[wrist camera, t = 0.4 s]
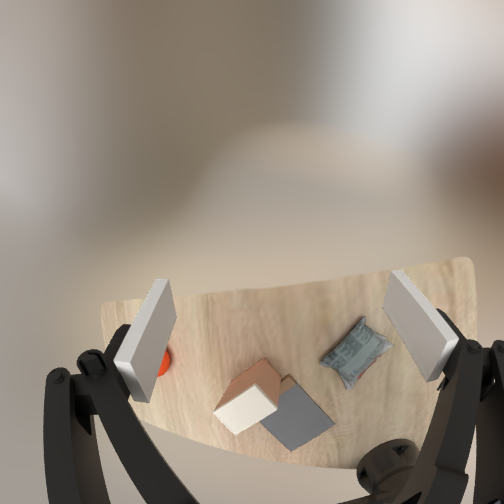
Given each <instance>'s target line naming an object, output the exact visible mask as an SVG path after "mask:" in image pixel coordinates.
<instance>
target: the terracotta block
mask: <svg viewBox="0 0 504 504" xmlns="http://www.w3.org/2000/svg"><path fill="white" fill-rule="evenodd" d="M280 382H281V376H280V375H279V374H278V373H277V372H276V371H275V369H274V368H273V367H272V366H271V365H270V364H269V363H268V362H267V360H266V359H265V358H263V359H262V360H260V361H259V362H258V363H256V364H255V365H253V366H252V367H251V368H249V369H248V370H247V371H245V372H244V373H242V374H241V375H240V376H238V377H237V378H235V379H234V380H232V381H231V383H230V385H229V387H228V388H227V390H226V392H225V393H224V395H223V397H222V398H221V400H220V402H219V403H218V405H217V406H216V408H215V410H214V411H213V414H214V415H215V416H216V417H217V418H218V419H219V420H220V421H221V422H222V423H223V424H224V425H225V426H226V427H227V428H228V429H229V430H230V431H231V432H232V433H233V434H234V435H236V434H238V433H240V432H242V431H243V430H245V429H247V428H249V427H250V426H252V425H254V424H255V423H257V422H259V421H260V420H262V419H263V418H265V417H267V416H268V415H270V414H271V413H273V412H275V411H276V410H277V408H278V400H279V391H280Z"/></svg>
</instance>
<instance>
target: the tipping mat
mask: <svg viewBox="0 0 504 504" xmlns="http://www.w3.org/2000/svg"><path fill="white" fill-rule="evenodd" d="M259 422H260V423H261V424H262V425H263V426H264V427H265V428H266V429H267V430H268V431H269V432H270V433H271V434H272V435H274V436H275V437H276V438H277V439H278V440H279V441H280V442H281V443H282V444H283V445H284V446H285V447H286V448H287V449H288V450H289V451H293V450H295V449H297V448H298V447H300V446H302V445H303V444H305V443H307V442H308V441H310V440H312V439H313V438H315V437H316V436H318V435H320V434H321V433H323V432H324V431H326V430H327V429H329V428H330V427H332V426H333V425H335V423H334V422H333V421H332V420H331V419H330V418H329V417H328V416H327V415H326V414H325V413H324V412H323V411H322V409H321V408H320V407H319V406H318V405H317V404H316V403H315V402H314V401H313V400H312V399H311V398H310V397H309V396H308V394H307V393H306V392H305V391H304V390H303V389H302V388H301V387H300V386H299V385H298V384H297V382H296V381H295V380H294V379H293V378H292V377H291V376H290V375H287V376H286V377H284V378H283V379H282V380H281V382H280V391H279V400H278V408H277V410H276V411H275V412H273V413H271V414H270V415H268V416H267V417H265V418H263V419H262V420H260V421H259Z"/></svg>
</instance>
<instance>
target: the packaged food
mask: <svg viewBox="0 0 504 504" xmlns="http://www.w3.org/2000/svg"><path fill="white" fill-rule="evenodd" d="M365 322H366V316H364V317H362V319H361V320H360V321H359V322H358V323H357V324H356V325H355V326H354V327H353V329H352V330H351V331H350V332H349V333H348V335H347V336H346V337H345V338H344V339H343V340H342V342H341V343H339V344H338V345H337V346H336V347H335V348H334V349H333V350H331V351H330V352H329V354H327V355H326V356H325V357H324V358H323V359H322V360H321V362H320V365H322V366H325V367H331V368H333V369H335V370H336V371H337V372H338V373H339V375H340V377H341V379H342V380H343V382H344V384H345V387H346V389H347V390H350V389H352V388H353V387H354V385H355V382H356V381H358V379H359V378H360V377H361V376H362V375H363V374H364V373H365V371H366V370H367V368H369V367H370V366H371V365H372V364H373V363H374V362H376V360H377V359H378V357H380V356H381V355H382V354H384V353H385V352H386V351H387V350H388V349H390V348H391V347H392V346H395V345H394V344H392V343H390V342H388V341H386V340H385V339H386V338H385V337H384V336H382V335H379V334H377V333H376V332H374V331H373V330H372V329H370V328H369V327H368V326H366V325H365Z"/></svg>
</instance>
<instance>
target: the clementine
mask: <svg viewBox="0 0 504 504" xmlns="http://www.w3.org/2000/svg"><path fill="white" fill-rule="evenodd" d="M169 365H170V357H169V354H168V352H167V351H166V350H165V354H164V357H163V360H162V363H161V366H160V369H159V372H158V375H157V377H159V376H161V375H163V374H164V373H165V372H166V371H167V370H168V368H169Z"/></svg>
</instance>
